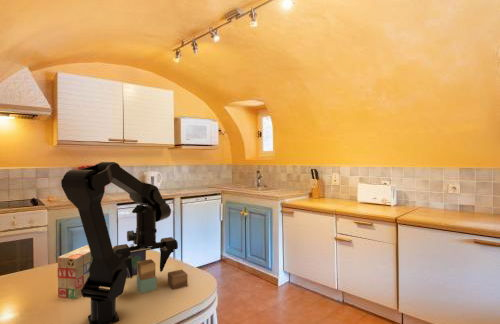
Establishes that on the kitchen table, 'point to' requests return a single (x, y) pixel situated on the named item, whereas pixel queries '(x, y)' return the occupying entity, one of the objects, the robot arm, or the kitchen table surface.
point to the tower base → (147, 284)
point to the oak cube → (146, 269)
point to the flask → (136, 260)
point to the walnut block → (177, 279)
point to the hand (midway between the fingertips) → (146, 274)
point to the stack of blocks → (73, 272)
